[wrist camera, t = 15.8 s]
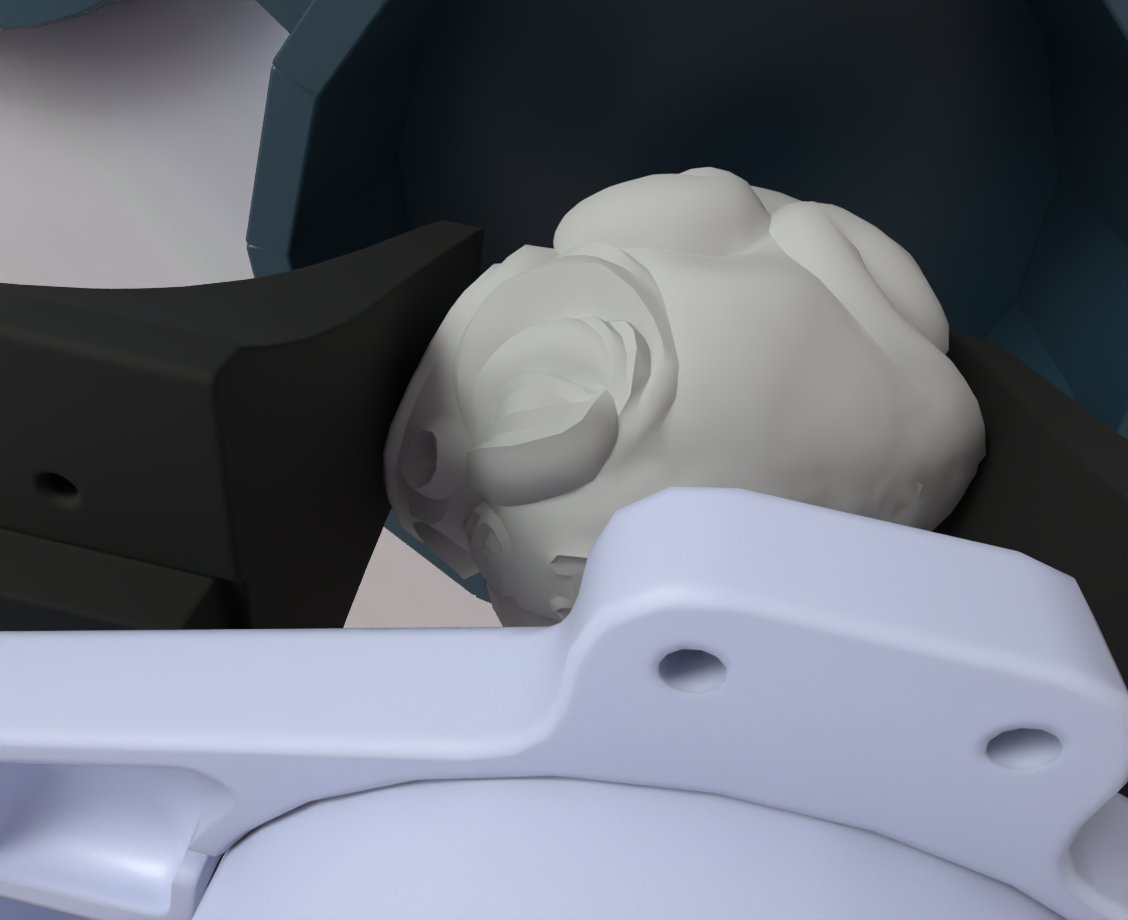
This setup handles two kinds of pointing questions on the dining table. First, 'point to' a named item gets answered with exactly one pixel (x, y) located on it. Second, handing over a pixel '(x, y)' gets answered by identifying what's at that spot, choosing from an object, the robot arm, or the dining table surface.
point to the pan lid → (44, 11)
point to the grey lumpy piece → (676, 382)
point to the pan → (729, 141)
